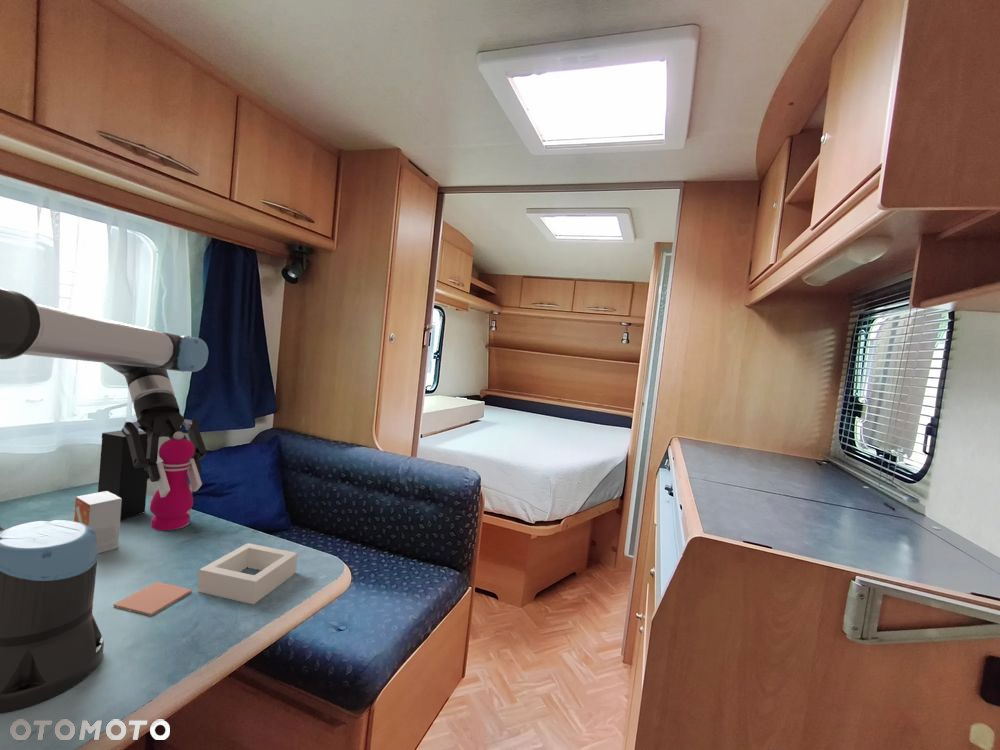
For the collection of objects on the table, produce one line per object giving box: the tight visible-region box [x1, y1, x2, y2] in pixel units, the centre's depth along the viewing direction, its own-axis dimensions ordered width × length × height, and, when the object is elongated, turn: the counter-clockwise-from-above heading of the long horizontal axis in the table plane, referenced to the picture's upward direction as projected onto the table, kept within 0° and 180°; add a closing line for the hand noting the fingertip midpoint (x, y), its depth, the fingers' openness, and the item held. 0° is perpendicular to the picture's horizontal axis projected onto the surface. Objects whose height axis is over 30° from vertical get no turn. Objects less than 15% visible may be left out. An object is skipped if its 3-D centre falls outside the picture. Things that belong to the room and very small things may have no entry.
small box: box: [73, 491, 122, 554], centre depth 104 cm, size 8×6×13 cm
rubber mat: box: [112, 581, 192, 617], centre depth 87 cm, size 9×9×1 cm
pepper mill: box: [149, 432, 195, 531], centre depth 88 cm, size 7×7×20 cm
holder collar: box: [197, 542, 298, 605], centre depth 97 cm, size 14×14×5 cm
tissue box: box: [97, 420, 149, 521], centre depth 123 cm, size 8×8×28 cm
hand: (181, 490), depth 86 cm, fingers closed on pepper mill, 5 cm apart
